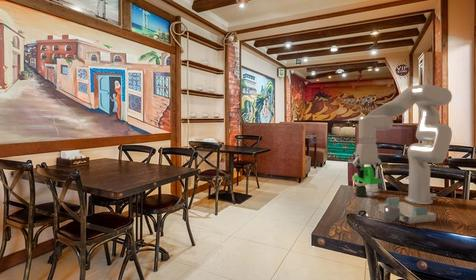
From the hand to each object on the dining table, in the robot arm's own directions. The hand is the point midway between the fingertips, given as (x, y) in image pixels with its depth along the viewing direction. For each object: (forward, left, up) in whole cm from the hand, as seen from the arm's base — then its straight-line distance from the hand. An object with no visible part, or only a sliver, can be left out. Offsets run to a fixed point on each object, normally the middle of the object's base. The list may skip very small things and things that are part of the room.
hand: (366, 176), depth 133 cm
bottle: (-26, -29, -17) cm, 42 cm away
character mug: (-13, -21, -17) cm, 30 cm away
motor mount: (-8, +12, -16) cm, 22 cm away
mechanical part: (0, 0, -2) cm, 2 cm away
